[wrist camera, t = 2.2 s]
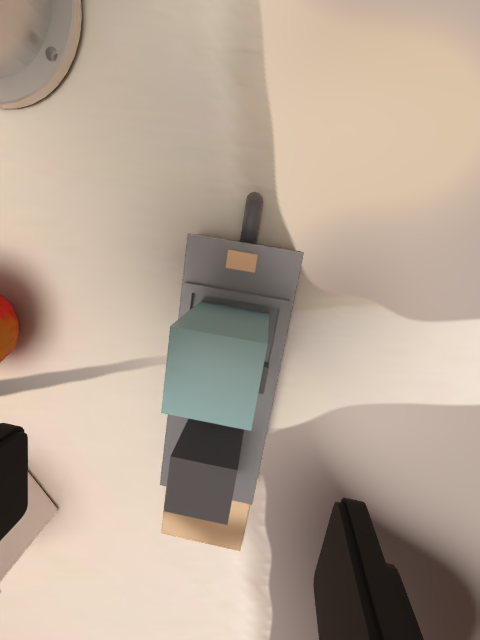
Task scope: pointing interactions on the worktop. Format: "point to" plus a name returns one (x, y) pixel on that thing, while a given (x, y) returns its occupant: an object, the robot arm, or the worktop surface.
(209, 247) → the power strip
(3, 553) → the milk carton
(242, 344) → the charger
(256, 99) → the worktop surface
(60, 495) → the worktop surface
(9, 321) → the apple
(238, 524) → the cork pad
